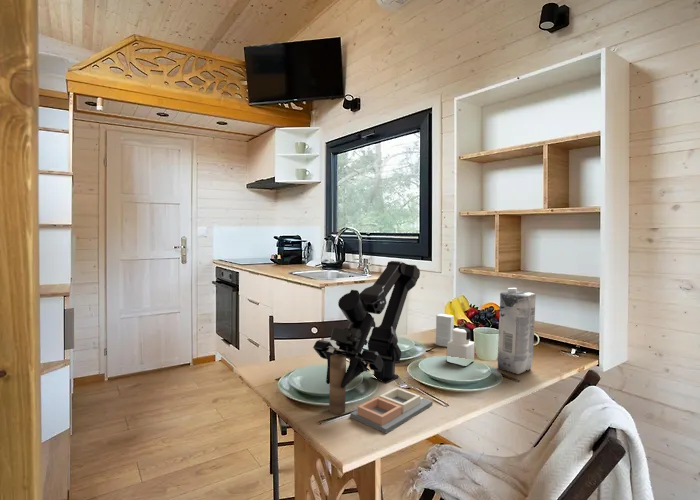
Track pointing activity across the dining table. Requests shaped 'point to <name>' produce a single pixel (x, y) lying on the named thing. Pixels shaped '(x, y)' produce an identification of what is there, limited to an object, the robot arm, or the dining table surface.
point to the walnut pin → (337, 384)
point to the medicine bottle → (461, 344)
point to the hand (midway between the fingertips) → (334, 385)
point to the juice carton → (516, 330)
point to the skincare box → (444, 329)
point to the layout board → (390, 409)
